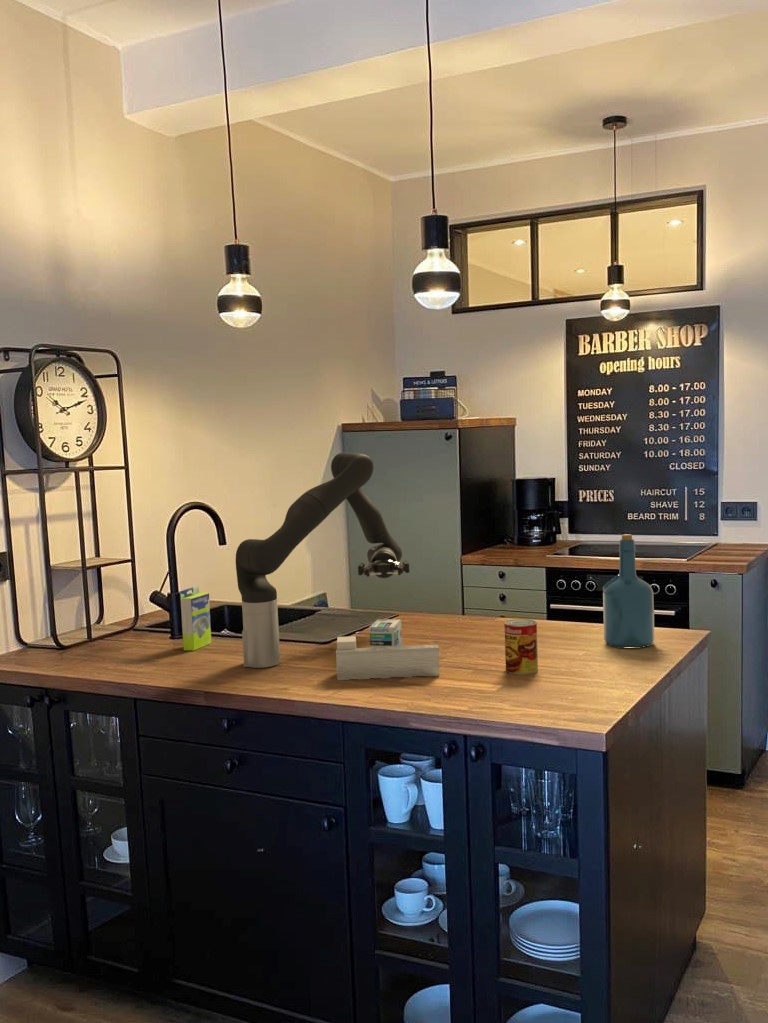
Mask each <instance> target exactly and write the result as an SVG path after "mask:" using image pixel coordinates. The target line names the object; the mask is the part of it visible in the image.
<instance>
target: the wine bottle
mask: <svg viewBox="0 0 768 1023" xmlns="http://www.w3.org/2000/svg"><path fill="white" fill-rule="evenodd" d="M618 552H619V564H618V565H619V571H618V572H619V573H618V574H617V575H615V576H614V577H612V578H611V579H610V580H608V581H607V582H606V583H605V584H604V585H603V586H602V608H603V610H602V612H603V617H602V618H603V640H604V642H605V644H607V645H608V646H610V645H611V647H614V646H615V648H618V647H643V646H647V645H650V646H652V645H653V644H654V641H655V606H654V604H655V602H654V594H655V593H654V590H653V588H652V586H651V585H650V584H649V583H648V582H646V581H645V580H643V579H641V578H639V577H638V575H637V564H636V552H637V550H636V544H635V539H633V535H632V534H631V533H628V534H627V533H625V534H622V535H621V539H620V540H619V548H618ZM652 643H653V644H652ZM647 647H648V646H647ZM643 648H644V647H643Z"/></svg>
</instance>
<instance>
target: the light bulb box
mask: <svg viewBox="0 0 768 1023" xmlns="http://www.w3.org/2000/svg"><path fill="white" fill-rule="evenodd" d="M402 628H403V625H402V619H389V618H388V619H385V618H383V619H382V618H378V619H376V620H375V621H374V622H373V623H372V624H371V625H370V626H369V628H368V629H369V648H373V647H396V646H403V630H402Z"/></svg>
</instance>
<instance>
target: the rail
mask: <svg viewBox="0 0 768 1023" xmlns="http://www.w3.org/2000/svg"><path fill="white" fill-rule="evenodd" d="M439 652H440V647H439V644H423V645H422V644H420V645H402V646H396V647H373V648H370V647H356V648H349V649H337V648H336V649H335V656H336V658H335V661H336V681H348V680H349V679H358V680H371V679H370V678H381V679H391V678H390V677H404V678H413V677H412V676H427V677H440V653H439ZM349 681H350V680H349Z"/></svg>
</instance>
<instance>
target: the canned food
mask: <svg viewBox="0 0 768 1023" xmlns="http://www.w3.org/2000/svg"><path fill="white" fill-rule="evenodd" d="M504 650H505V652H504V654H505V655H504V656H505V657H504V658H505V671H506V672H507V673H508V672H510V673H509V674H512V673H515V674H514V675H530V674H529V673H532V674H535V673H537V672H538V671H539V664H538V663H539V661H538V660H539V659H538V657H539V656H538V655H539V654H538V623H537V621H536V620H532V619H527V618H525V619H523V618H521V619H520V618H518V619H510V620H506V621H505V622H504ZM534 672H535V673H534Z"/></svg>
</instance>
